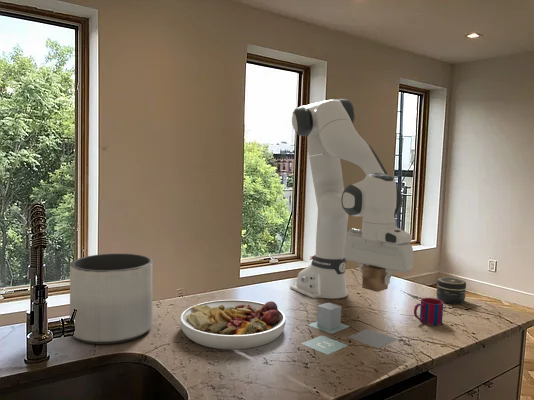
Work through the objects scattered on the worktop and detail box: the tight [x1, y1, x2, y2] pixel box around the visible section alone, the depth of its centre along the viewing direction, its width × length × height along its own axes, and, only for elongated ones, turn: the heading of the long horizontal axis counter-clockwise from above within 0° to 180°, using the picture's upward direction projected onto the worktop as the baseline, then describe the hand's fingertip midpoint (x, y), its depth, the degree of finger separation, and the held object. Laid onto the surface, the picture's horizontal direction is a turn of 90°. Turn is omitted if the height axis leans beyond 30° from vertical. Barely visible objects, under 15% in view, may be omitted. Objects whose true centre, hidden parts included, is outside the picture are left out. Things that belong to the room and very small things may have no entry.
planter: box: [69, 253, 154, 345], centre depth 127 cm, size 22×22×20 cm
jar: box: [436, 276, 467, 305], centre depth 166 cm, size 10×10×8 cm
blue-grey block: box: [316, 302, 342, 330], centre depth 135 cm, size 5×5×6 cm
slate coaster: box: [347, 328, 398, 350], centre depth 127 cm, size 10×10×1 cm
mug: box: [413, 297, 444, 327], centre depth 143 cm, size 7×10×7 cm
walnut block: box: [361, 264, 389, 293], centre depth 125 cm, size 5×5×6 cm
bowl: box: [179, 299, 286, 351], centre depth 130 cm, size 30×30×8 cm
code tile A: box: [300, 335, 349, 356], centre depth 121 cm, size 9×9×1 cm
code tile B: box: [308, 321, 351, 334], centre depth 135 cm, size 9×9×1 cm
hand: (375, 281), depth 125 cm, fingers closed on walnut block, 5 cm apart
